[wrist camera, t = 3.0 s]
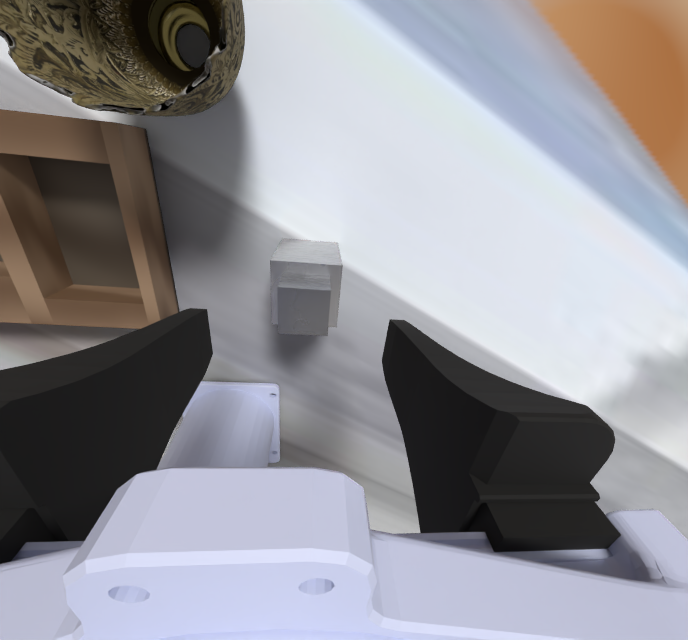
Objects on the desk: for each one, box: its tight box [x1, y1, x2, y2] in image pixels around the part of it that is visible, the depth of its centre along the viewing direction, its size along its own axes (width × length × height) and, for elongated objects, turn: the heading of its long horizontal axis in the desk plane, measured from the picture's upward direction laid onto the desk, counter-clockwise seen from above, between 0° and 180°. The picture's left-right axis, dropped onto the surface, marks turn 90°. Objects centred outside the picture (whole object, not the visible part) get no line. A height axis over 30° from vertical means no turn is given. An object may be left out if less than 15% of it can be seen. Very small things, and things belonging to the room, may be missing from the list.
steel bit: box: [270, 238, 343, 336], centre depth 17 cm, size 4×4×7 cm
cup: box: [0, 0, 245, 116], centre depth 11 cm, size 8×7×8 cm
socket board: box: [0, 109, 179, 329], centre depth 16 cm, size 11×14×2 cm
